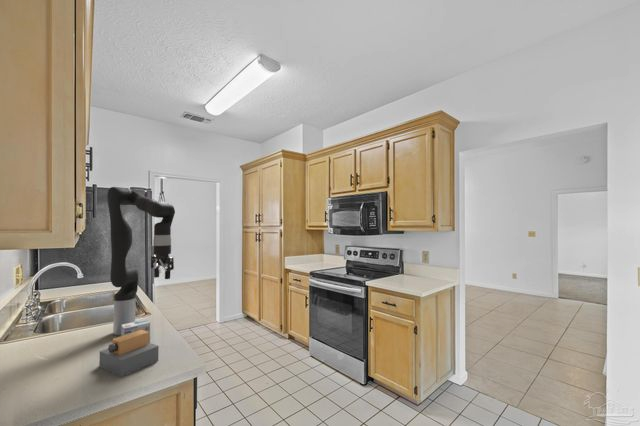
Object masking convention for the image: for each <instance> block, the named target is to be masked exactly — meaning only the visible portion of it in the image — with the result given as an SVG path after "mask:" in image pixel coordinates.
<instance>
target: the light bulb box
mask: <svg viewBox="0 0 640 426" xmlns="http://www.w3.org/2000/svg"><path fill="white" fill-rule="evenodd" d="M139 330H144V331H147V332H149V343H151V322H150V321H149V320H148V319H142V320H137V321H136V320H135V322H132V323H128V324H122V325H121V335H120V336H123V335H127V334H130V333H133V332H136V331H139Z"/></svg>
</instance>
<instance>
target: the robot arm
mask: <svg viewBox="0 0 640 426" xmlns="http://www.w3.org/2000/svg"><path fill="white" fill-rule="evenodd" d="M106 196H107V197H106V199H107V205H108V212H109V222H110V223H109V225H110V243H111V244H110V246H111V247H110V248H111V250H110V251H111V262H110V263H111V264H110V274H109V275H110V283H111V285H112V286H114V287H115V288H120V289H119V290H118V291H117V292H116V293H115V294H114V295H113V331H112V332H113V335H114V336H121V325H122V324H128V323H132V322H136V298H137V297H136V295H137V292H138V289H139V288H138V287H139V286H138V285H139V272H138V270H137V269H136V268H135V267H134V266H133V267H132V266H128V267H127V266H126V261H127V260H126V259H127V256H128V254H129V251H130V250H131V247H132V245H133V229H132V227H131V225H130V224H129V223H128V221H127V220H126V219H125V217H124V215H123V214H122V209H121V206H130V205H131V206H135V207H136V208H137V209H138V210H140V211H142V212H145V213H147V214H149V215H150V216H151V217H153V218H159V219H160V218H162V219H161V221H160V222H156V223H154V226H153V229H154V230H153V244H152V245H153V246H152V248H153V251H152V253H153V254H152V255H151V258H150V269H152V270H153V278H155V279H157V278H159V277H160V269H161V267H162V269H164V280H170V279H171V271H172V270H175V269H174V267H175V265H174V263H175V262H174V260H175V259H174V256H171V257H170V254H171V253H172V235H171V233H172V231H171V230H172V229H171V228H172V224H173V220H174V218H175V214H176V210H175V206H174V205H173V204H172V203H167V202H166V203H165V202H158V201H157V200H155V199H152V198H150V197H147V196H144V195H142V194H139V193H138V192H136V191H135V190H133V189H132V188H129V187H118V186H111V187H109V188H108V190H107V194H106Z"/></svg>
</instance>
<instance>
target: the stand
mask: <svg viewBox="0 0 640 426" xmlns="http://www.w3.org/2000/svg"><path fill="white" fill-rule="evenodd" d="M159 347H160V346H159V345H157V344H154V343H151V342H150V343H149V344H148V345H145V346H143V347H140V348H137V349H134V350H132V351H129V352H126V353H124V354H121V355H119V354H116V353H114V352H112V353H110V352H109V350H108V347H107V348H105V349H102V350H99V364H98V365H99V368H101V369H104V370H106V371H108V372H109V373H113V374H115V375H116V376H119V377H121V378H122V377H124V376H126V375H129V374H131V373H133V372H136V371H138V370H141V369H142V368H145V367H146V366H149V365H151V364H152V365H153V364H154V363H156V362H158V361H159Z"/></svg>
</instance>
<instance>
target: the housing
mask: <svg viewBox="0 0 640 426" xmlns="http://www.w3.org/2000/svg"><path fill="white" fill-rule="evenodd" d="M148 344H149V332H147V331H144V330H139V331H136V332H133V333H130V334H127V335H123V336H121V335H119V336H117V337H115V338H112V344H109V345H108V347H107V348H108V350H109V352H110V353H112V352H114V353H116V354H119V355H121V354H124V353H126V352H129V351H132V350H134V349H137V348H140V347H143V346H145V345H148Z"/></svg>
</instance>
